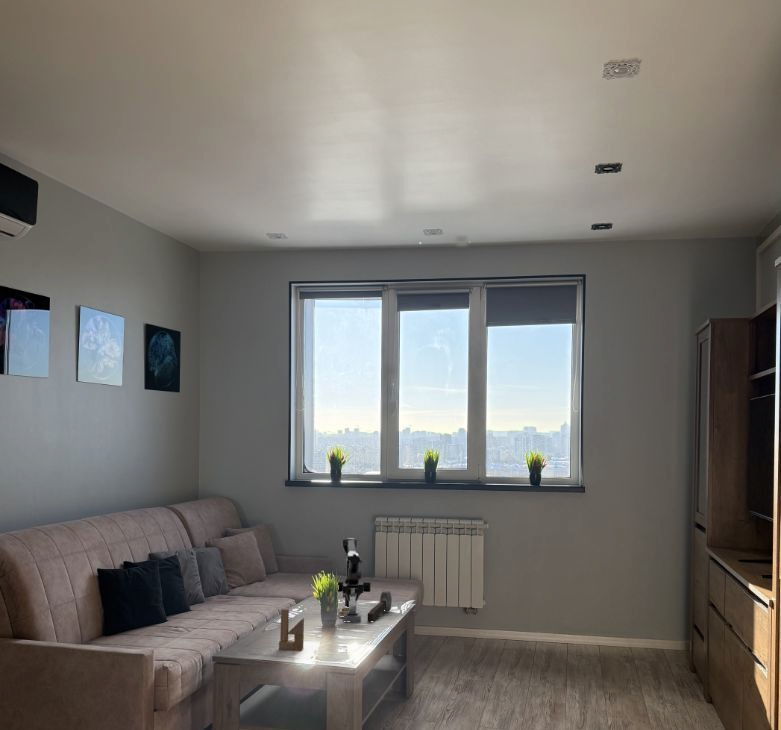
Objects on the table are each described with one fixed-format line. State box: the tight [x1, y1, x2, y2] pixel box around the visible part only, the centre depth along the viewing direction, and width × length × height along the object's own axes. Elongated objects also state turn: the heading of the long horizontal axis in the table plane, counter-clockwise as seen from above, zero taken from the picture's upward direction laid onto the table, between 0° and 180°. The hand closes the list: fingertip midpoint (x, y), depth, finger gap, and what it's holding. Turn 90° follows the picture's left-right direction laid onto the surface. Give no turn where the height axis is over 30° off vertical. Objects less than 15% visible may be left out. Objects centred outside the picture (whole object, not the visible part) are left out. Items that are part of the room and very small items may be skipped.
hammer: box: [367, 590, 393, 622], centre depth 433 cm, size 5×11×30 cm
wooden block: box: [278, 607, 305, 652], centre depth 366 cm, size 4×11×18 cm, turn 80°
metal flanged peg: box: [349, 588, 358, 614], centre depth 423 cm, size 4×4×13 cm
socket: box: [343, 612, 362, 623], centre depth 422 cm, size 9×9×3 cm
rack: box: [339, 608, 349, 617], centre depth 432 cm, size 8×8×3 cm
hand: (352, 600), depth 421 cm, fingers closed on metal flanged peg, 4 cm apart
